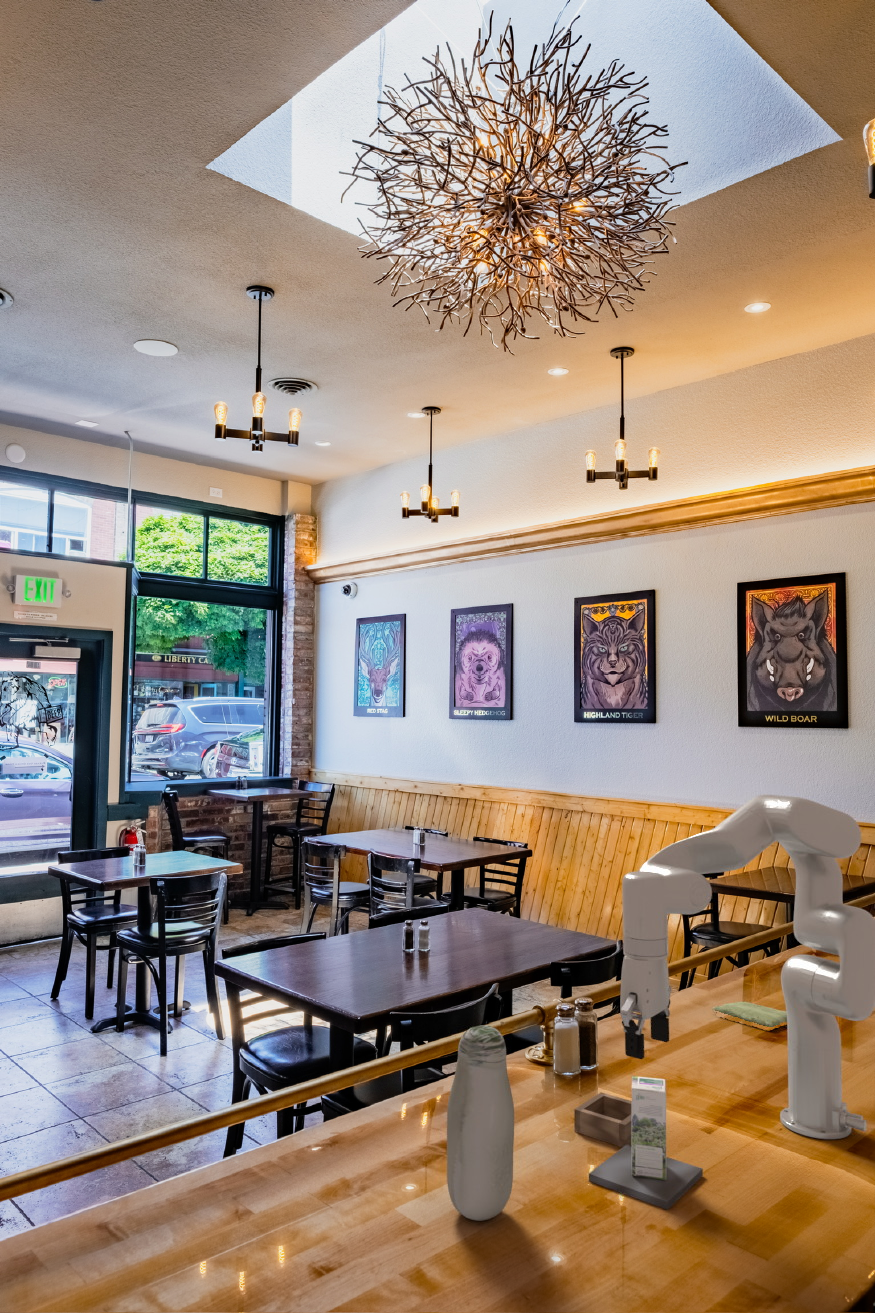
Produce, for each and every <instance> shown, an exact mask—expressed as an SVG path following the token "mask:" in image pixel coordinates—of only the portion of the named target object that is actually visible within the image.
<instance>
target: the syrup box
mask: <svg viewBox="0 0 875 1313" xmlns="http://www.w3.org/2000/svg"><path fill="white" fill-rule="evenodd" d="M666 1082H667V1081H666V1079H664V1078H658V1077H657V1078H655V1077H646V1076H637V1075H632V1077H631V1101H632V1143H631V1145H632V1176H638V1177H645V1178H653V1179H661V1180H666V1157H667V1086H666V1085H667V1084H666Z"/></svg>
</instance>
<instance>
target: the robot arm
mask: <svg viewBox="0 0 875 1313" xmlns="http://www.w3.org/2000/svg"><path fill="white" fill-rule="evenodd" d="M861 841H862V832H861V829H860V826H859V824H858V822H857V821H856V820H855V818H854V817H853V816H851V815H850V814H848V813H846V812H843V811H842V810H837V809H835V808H832V807H830V806H827V805H824V804H822V803H819V802H816V801H813V800H810V799H807V798H804V797H798V796H786V795H778V794H777V795H775V794H759V795H757V796H755V797H752V798H751V799H749V800H748V801H747V802H745V803H744V804H743V805H742V806H741V807H739V808H738V809H737V810H735V811H734V812H733V813H731V814H730V815H729V816H727V818H725V819H723V821H721V822H720V823H718V824H717V825H715V827H713V828H712V829H710V830H706V831H702V832H700V833H697V834H695V835H692V836H689V837H686V838H684V839H681V840H678V841H676V842H673V843H671V844H669V845H667V846H665V847H663V848H662V849H660V850H659V851H658V852H657V853H655V854H654V855H652V856H651V857H650V858H648V859H647V860H646V861H645V862H643V864H642V865H641V867H640V868H639V869H638V870H637V871H629V872H628V873H626V874H625V875H624V876H623V878H622V882H621V884H622V885H621V888H622V890H621V891H622V892H621V893H622V900H621V901H622V934H623V935H622V941H623V942H622V943H623V944H622V946H623V949H622V950H623V955H624V956H623V961H622V966H621V976H620V978H621V979H620V1002H619V1003H620V1006H619V1007H620V1013H619V1014H620V1017H621V1025H622V1026H623V1032H624V1049H625V1055H626V1056H627V1057H630V1058H635V1059H638V1060H643V1059H645V1034H644V1033H643V1029H644V1025H645V1022H646V1021H647V1020H649V1019H650V1038H651V1039H652V1040H655V1041H659V1042H663V1043H668V1042H669V1041H670V1018H669V1017H670V1014H671V1012H670V1009H669V1008H670V1005H671V1002H672V1001H671V1000H670V998H671V993H672V986H671V985H670V978H669V967H668V959H667V958H668V957H669V935H668V934H669V931H668V929H669V928H668V927H669V926H668V925H669V924H668V923H669V922H668V921H669V920H668V916H669V915H671V914H672V915H676V914H677V915H695V914H698V913H700V912H702V911H704V910H705V909H706V908H707V907H708V906H709V904H710V902H711V900H712V896H713V895H712V894H713V891H712V890H713V889H712V886H711V883H710V882H709V880H708V878H706V877H705V876H704V874H705V875H706V874H716V873H726V872H731V871H736V870H739V869H742V868H744V867H746V866H747V865H749V864H750V863H751V862H752V861H753V860H755V859H756V858H757V857H758V856H759V855H760V854H761V853H762V852H764V851H765V850H766V849H767V848H769V847H770V846H771V845H772V844H773V843H776V842H778V844H779V845H781V847H782V848H783V849H784V850H785V851H786V853H787V855H788V856H789V857H790V859H791V860H790V861H792V864H793V867H794V870H795V894H794V907H793V908H794V910H793V935H794V938H795V939H796V940H797V942H799V943H800V944H801V945H803V946H804V947H807V948H810V949H813V950H817V951H820V952H824V953H827V954H832V955H837V956H839V962H837V961H835V960H831V959H827V958H824V957H819V956H815V955H811V954H796V955H792V956H791V957H789V958H788V959H787V960H786V961H785V963H784V964H783V965H782V968H781V972H780V983H781V989H782V994H783V999H784V1003H785V1011H786V1012H787V1026H786V1027H787V1031H786V1032H787V1079H788V1080H787V1081H788V1082H787V1084H788V1085H787V1087H788V1090H787V1091H788V1107H785V1108H783V1109H782V1110H781V1111H780V1114H779V1115H780V1116H779V1118H780V1122H781V1123H782V1125H783V1126H784V1127H785V1128H787V1129H788V1130H790V1131H792V1132H794V1133H797V1134H799V1135H802V1136H805V1137H809V1138H815V1139H822V1140H837V1139H838V1140H839V1139H844V1138H846V1137H848V1136H849V1135H851V1134H852V1128H853V1129H855V1130H859V1131H862V1132H866V1131H867V1126H868V1125H867V1119H864V1117H863V1115H861V1114H856V1113H852V1112H850V1111H849V1110H847V1109H848V1108H847V1107H848V1106H847V1104H848V1103H846V1102H843V1095H842V1093H843V1090H842V1088H843V1087H842V1085H843V1084H842V1082H843V1080H842V1043H841V1042H842V1040H841V1039H842V1038H841V1031H840V1026H839V1023H838V1021H837V1018H836V1017H839V1018H842V1019H846V1020H849V1021H853V1022H854V1021H855V1022H861V1021H864V1020H867V1019H868V1018H869V1017H870V1016H872V1013H873V1012H874V1010H875V918H874V916H873V915H872V914H871V913H870V912H869V911H867V910H865V909H863V908H860V907H857V906H853V905H848V904H844V902H843V892H844V891H843V882H844V879H843V877H844V876H843V874H842V870H841V868H840V864H839V863H838V861H837V859H847V858H849V857H851V856H854V855H855V853H857V851H858V850H859V848H860V846H861V843H862V842H861ZM635 1020H638V1022H637V1024H636V1022H635Z"/></svg>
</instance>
